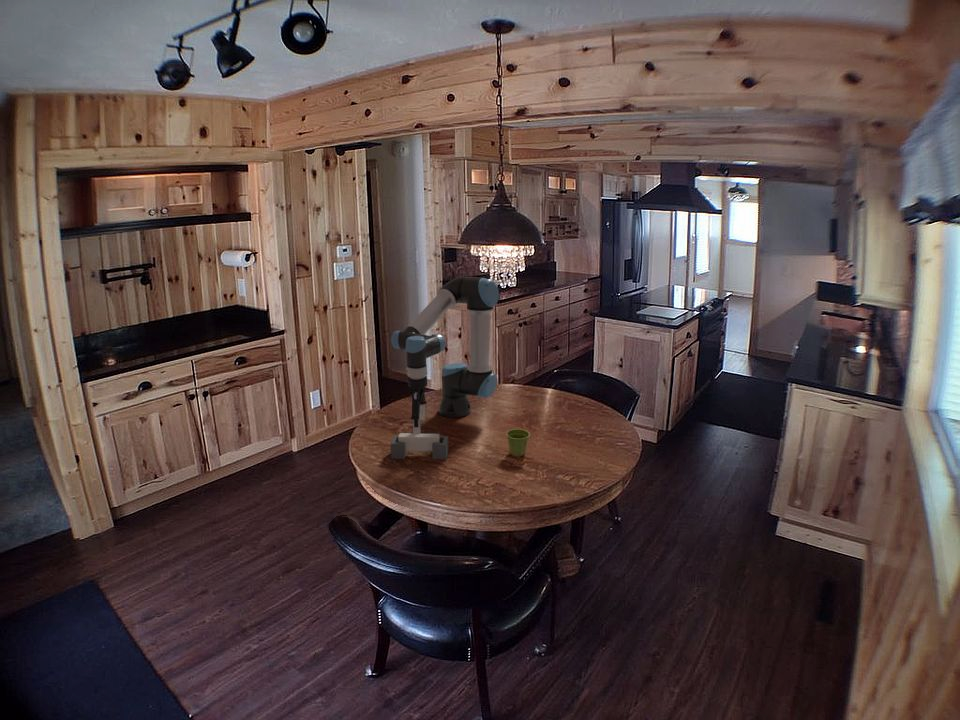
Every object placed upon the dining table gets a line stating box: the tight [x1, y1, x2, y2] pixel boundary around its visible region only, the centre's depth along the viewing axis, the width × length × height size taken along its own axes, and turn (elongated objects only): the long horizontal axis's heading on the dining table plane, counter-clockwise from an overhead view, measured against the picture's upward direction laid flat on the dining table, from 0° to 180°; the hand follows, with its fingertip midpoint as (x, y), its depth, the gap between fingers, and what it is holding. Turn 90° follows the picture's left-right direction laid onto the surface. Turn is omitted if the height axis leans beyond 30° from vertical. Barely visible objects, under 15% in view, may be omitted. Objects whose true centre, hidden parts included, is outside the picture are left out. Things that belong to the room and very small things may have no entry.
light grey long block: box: [398, 432, 441, 452], centre depth 237 cm, size 16×4×6 cm, turn 88°
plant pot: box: [505, 428, 531, 457], centre depth 238 cm, size 9×9×9 cm
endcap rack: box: [390, 434, 449, 460], centre depth 238 cm, size 22×8×6 cm, turn 87°
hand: (419, 426), depth 235 cm, fingers open, 13 cm apart
